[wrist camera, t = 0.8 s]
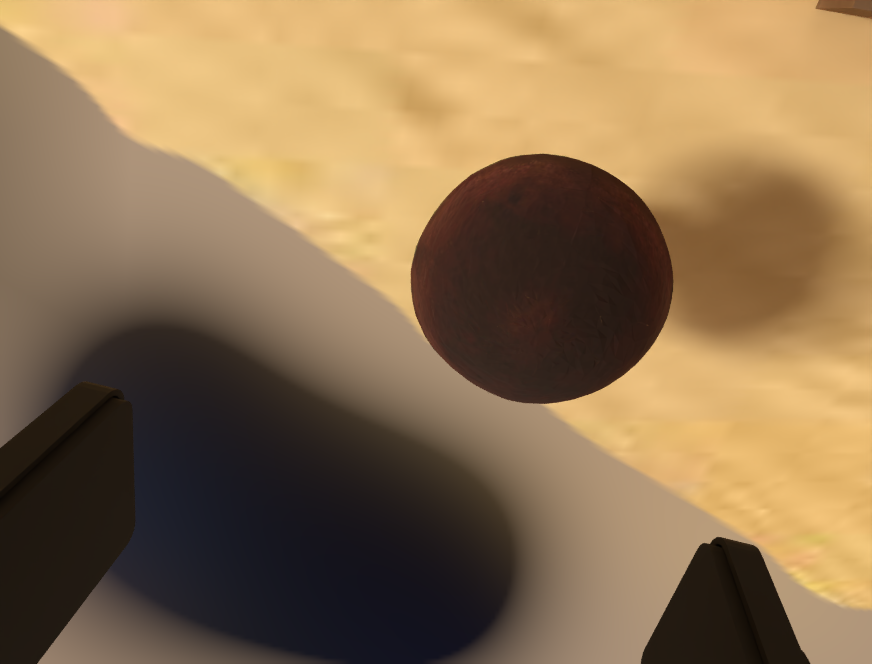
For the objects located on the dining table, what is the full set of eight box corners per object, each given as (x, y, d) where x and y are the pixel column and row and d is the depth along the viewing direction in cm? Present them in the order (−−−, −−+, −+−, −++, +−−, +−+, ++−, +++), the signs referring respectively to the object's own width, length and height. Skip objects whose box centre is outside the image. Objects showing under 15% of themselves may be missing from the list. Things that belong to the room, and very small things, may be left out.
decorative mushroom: (418, 268, 40) (358, 399, 26) (480, 86, 35) (446, 133, 21) (586, 330, 40) (613, 490, 26) (673, 158, 35) (759, 249, 21)
